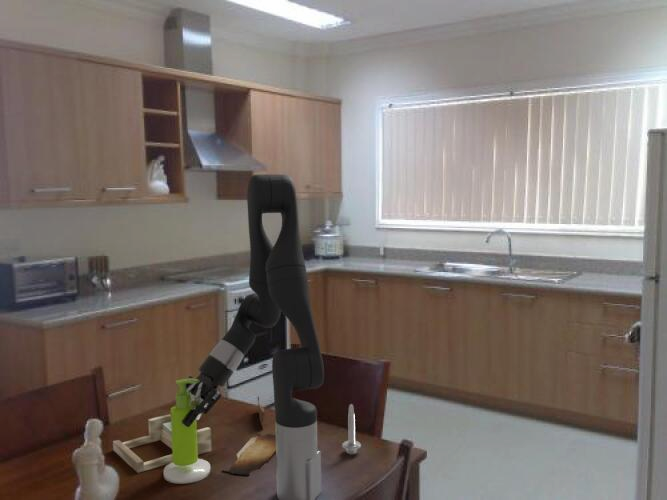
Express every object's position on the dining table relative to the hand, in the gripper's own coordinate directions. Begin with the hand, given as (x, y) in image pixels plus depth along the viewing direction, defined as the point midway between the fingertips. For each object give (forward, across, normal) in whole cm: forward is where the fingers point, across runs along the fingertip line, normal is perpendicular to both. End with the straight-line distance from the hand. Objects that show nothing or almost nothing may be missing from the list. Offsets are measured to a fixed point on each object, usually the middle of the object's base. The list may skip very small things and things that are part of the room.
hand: (179, 420), depth 146 cm
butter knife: (-3, -30, +24) cm, 38 cm away
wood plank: (-14, -17, +34) cm, 41 cm away
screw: (-18, +17, +38) cm, 45 cm away
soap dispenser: (+6, 0, +9) cm, 11 cm away
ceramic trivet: (+8, 0, +10) cm, 13 cm away
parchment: (-4, +2, +24) cm, 25 cm away
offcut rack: (+8, -16, +11) cm, 21 cm away
